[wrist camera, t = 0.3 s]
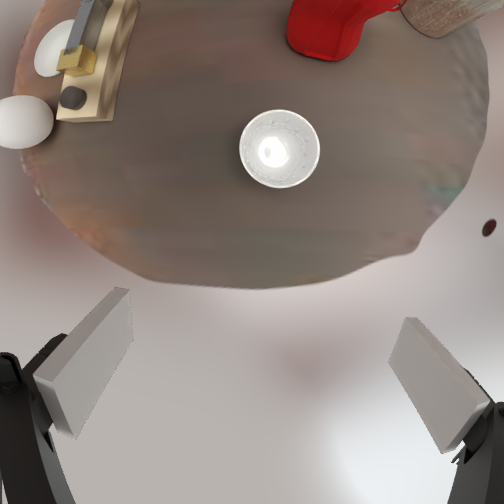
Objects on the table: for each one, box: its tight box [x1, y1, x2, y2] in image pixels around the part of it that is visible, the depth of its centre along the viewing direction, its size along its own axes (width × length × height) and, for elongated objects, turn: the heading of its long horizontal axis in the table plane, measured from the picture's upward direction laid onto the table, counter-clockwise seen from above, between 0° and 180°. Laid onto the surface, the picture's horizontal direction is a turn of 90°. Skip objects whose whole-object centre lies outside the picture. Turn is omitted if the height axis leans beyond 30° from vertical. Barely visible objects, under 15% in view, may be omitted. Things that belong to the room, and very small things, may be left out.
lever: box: [56, 0, 113, 77], centre depth 24 cm, size 14×4×4 cm, turn 172°
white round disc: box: [34, 20, 74, 77], centre depth 30 cm, size 11×11×1 cm
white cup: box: [239, 110, 320, 188], centre depth 32 cm, size 8×8×10 cm
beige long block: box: [56, 0, 140, 123], centre depth 28 cm, size 20×7×8 cm, turn 172°
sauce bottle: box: [0, 95, 54, 149], centre depth 26 cm, size 8×8×18 cm
